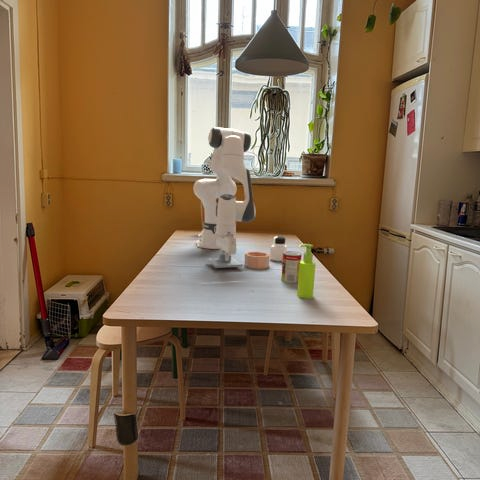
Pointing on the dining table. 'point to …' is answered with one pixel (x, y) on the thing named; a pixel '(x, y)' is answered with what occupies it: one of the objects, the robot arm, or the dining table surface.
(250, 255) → the bowl
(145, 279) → the dining table surface
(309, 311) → the dining table surface
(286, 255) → the canned food
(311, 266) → the soap dispenser
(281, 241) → the medicine bottle
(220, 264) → the lid
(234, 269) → the mat
